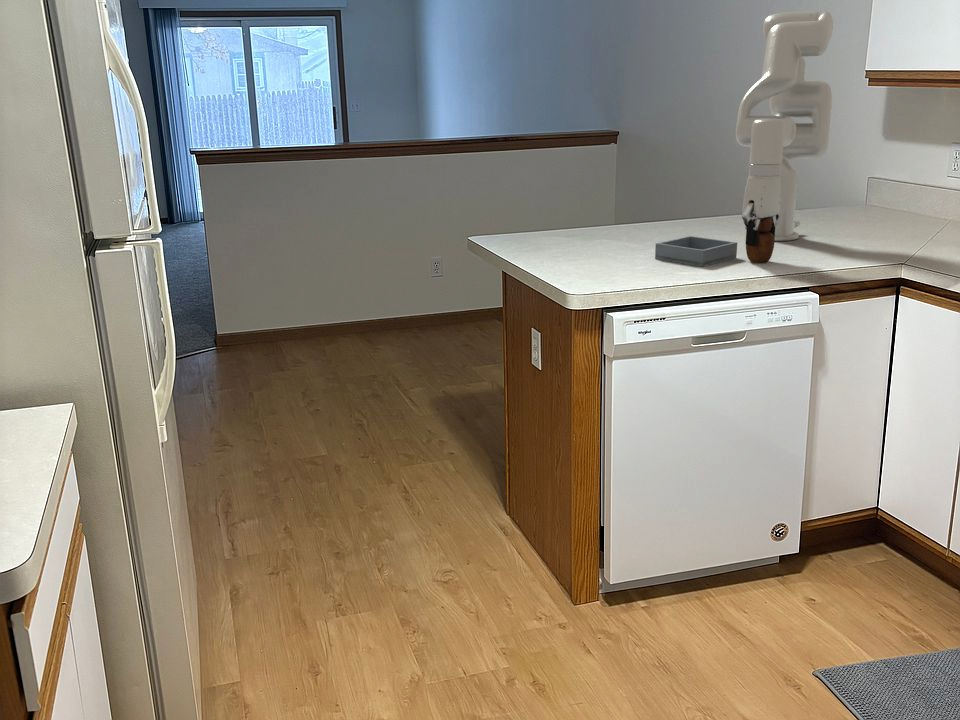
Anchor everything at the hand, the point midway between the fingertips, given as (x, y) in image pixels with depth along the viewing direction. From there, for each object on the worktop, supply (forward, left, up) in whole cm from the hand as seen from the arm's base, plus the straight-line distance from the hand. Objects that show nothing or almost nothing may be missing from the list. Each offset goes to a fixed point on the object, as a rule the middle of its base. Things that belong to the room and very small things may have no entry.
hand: (760, 243), depth 229 cm
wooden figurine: (0, 0, -5) cm, 5 cm away
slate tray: (+7, -14, -5) cm, 16 cm away
